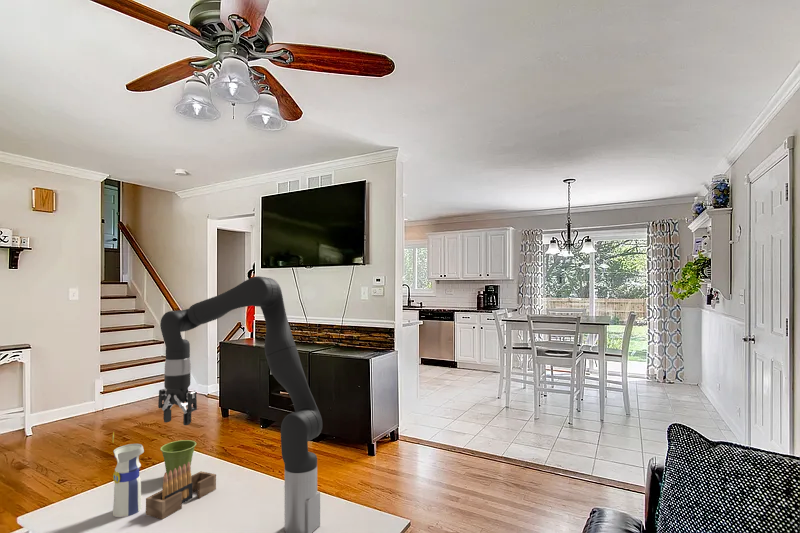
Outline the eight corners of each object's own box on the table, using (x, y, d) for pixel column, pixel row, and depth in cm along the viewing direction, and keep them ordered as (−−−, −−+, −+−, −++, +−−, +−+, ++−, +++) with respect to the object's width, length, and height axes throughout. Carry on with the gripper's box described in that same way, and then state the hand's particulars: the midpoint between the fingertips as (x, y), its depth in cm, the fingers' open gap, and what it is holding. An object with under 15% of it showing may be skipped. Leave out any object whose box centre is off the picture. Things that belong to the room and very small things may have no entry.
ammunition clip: (164, 513, 136) (165, 473, 136) (160, 512, 137) (160, 472, 137) (192, 497, 146) (193, 460, 146) (188, 496, 146) (189, 460, 147)
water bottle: (120, 521, 132) (121, 435, 133) (106, 513, 136) (107, 431, 137) (148, 509, 139) (149, 428, 140) (133, 502, 143) (135, 423, 144)
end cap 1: (181, 508, 139) (181, 492, 139) (162, 519, 132) (162, 502, 133) (165, 504, 141) (165, 488, 142) (145, 514, 135) (145, 498, 135)
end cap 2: (183, 494, 148) (184, 479, 148) (200, 485, 154) (200, 471, 155) (199, 498, 145) (199, 482, 145) (216, 489, 152) (216, 474, 152)
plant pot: (152, 484, 156) (153, 451, 157) (171, 470, 168) (171, 439, 168) (185, 484, 156) (186, 451, 156) (202, 470, 168) (202, 440, 168)
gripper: (203, 371, 144) (203, 422, 143) (171, 368, 149) (171, 417, 148) (184, 376, 137) (183, 429, 136) (151, 373, 142) (150, 424, 141)
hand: (177, 423), depth 142 cm, fingers open, 8 cm apart
